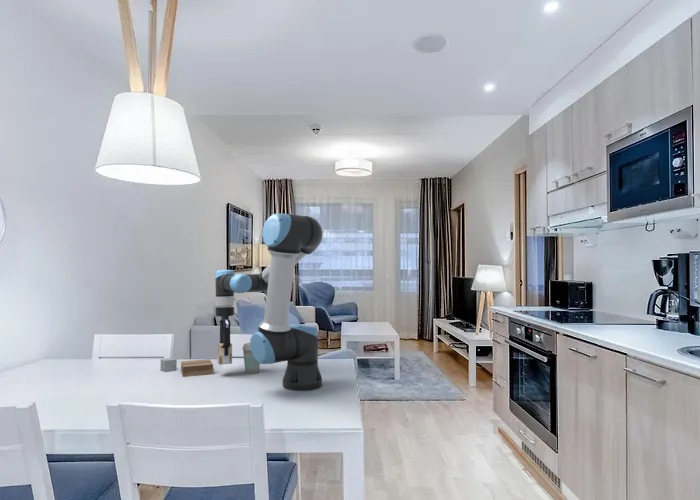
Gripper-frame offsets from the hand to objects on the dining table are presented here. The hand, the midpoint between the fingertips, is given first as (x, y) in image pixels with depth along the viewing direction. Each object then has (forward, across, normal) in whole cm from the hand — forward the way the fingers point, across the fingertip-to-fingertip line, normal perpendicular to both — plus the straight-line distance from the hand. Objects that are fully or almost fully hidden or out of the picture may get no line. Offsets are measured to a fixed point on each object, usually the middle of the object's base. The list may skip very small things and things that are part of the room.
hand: (224, 362), depth 187 cm
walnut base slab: (+5, +11, +10) cm, 16 cm away
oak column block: (0, 0, 0) cm, 0 cm away
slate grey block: (+5, +20, +21) cm, 29 cm away
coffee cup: (+6, +2, -12) cm, 13 cm away
